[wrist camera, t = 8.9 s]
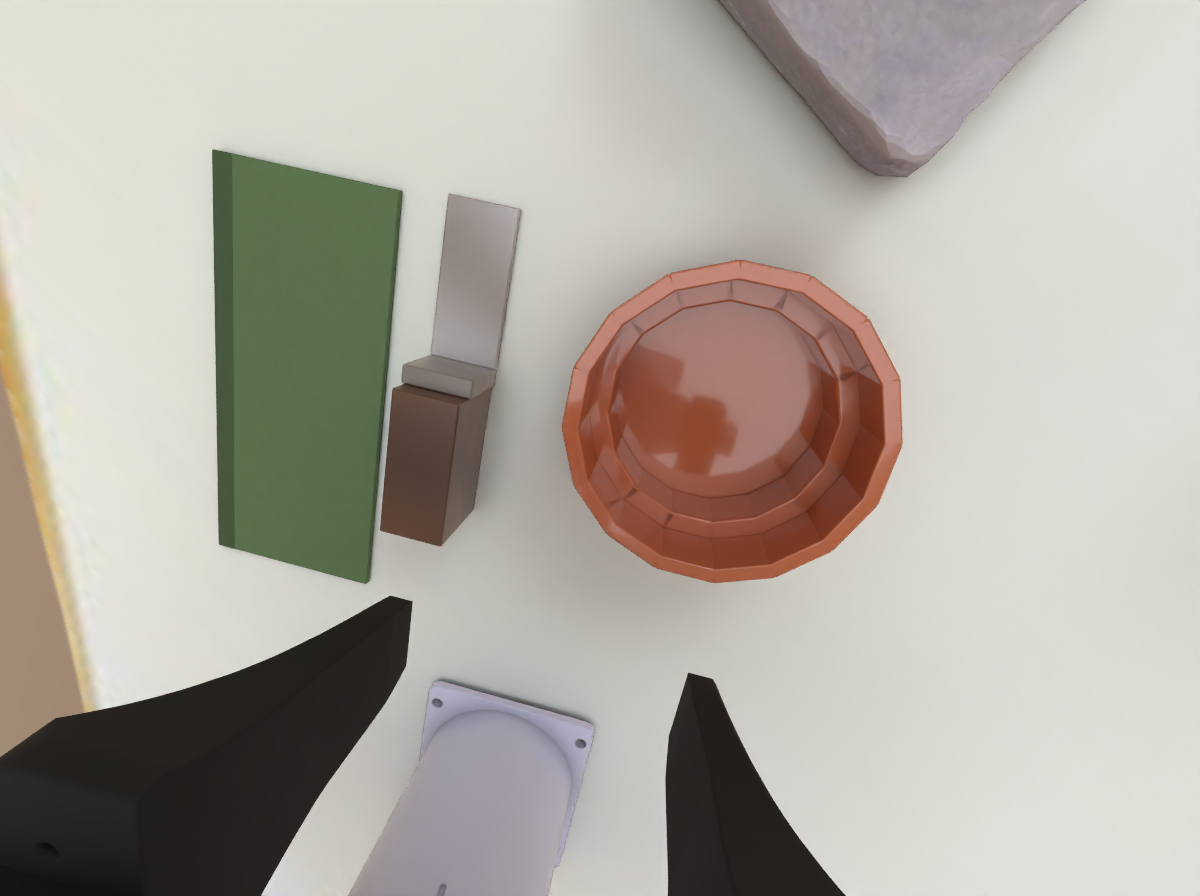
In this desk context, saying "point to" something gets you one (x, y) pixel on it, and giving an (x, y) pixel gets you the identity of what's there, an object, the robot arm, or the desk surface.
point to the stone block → (896, 64)
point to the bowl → (733, 421)
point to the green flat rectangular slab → (301, 359)
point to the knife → (451, 379)
